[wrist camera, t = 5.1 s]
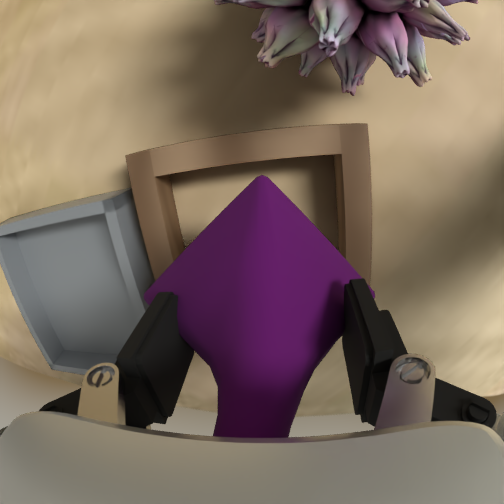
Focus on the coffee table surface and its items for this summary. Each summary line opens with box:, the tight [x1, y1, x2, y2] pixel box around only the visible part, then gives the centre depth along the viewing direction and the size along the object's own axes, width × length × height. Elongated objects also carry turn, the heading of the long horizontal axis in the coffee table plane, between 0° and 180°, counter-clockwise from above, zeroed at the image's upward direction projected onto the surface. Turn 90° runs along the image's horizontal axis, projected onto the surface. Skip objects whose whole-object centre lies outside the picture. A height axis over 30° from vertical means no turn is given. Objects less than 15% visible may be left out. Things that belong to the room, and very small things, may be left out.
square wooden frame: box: [125, 123, 372, 336], centre depth 19 cm, size 14×14×2 cm
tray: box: [0, 188, 155, 375], centre depth 22 cm, size 14×15×3 cm
